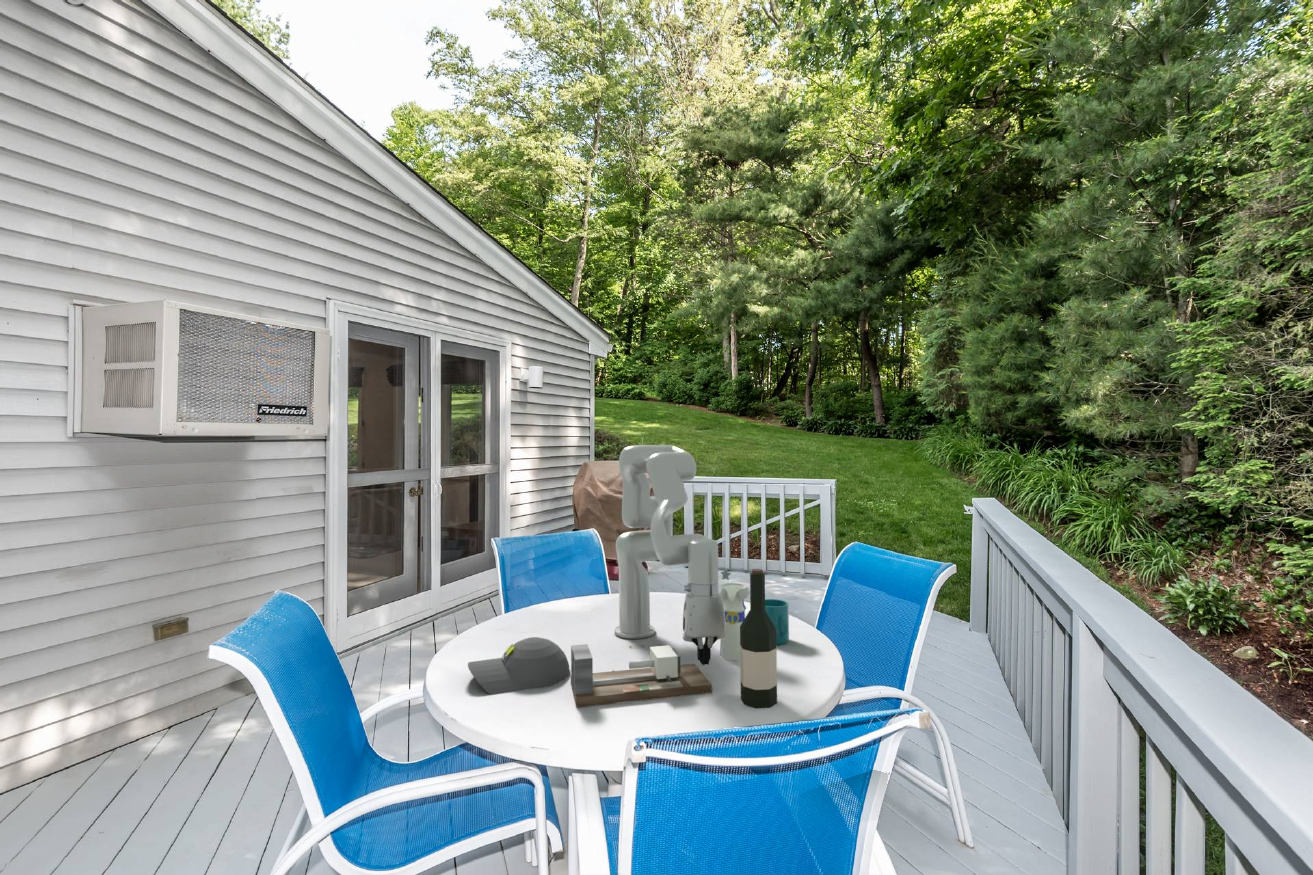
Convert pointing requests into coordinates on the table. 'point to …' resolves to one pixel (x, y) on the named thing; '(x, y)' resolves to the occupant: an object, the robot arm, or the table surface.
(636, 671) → the base
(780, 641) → the cup
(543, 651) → the baseball cap
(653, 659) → the white block grey face
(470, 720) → the table surface
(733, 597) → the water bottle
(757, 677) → the wine bottle
